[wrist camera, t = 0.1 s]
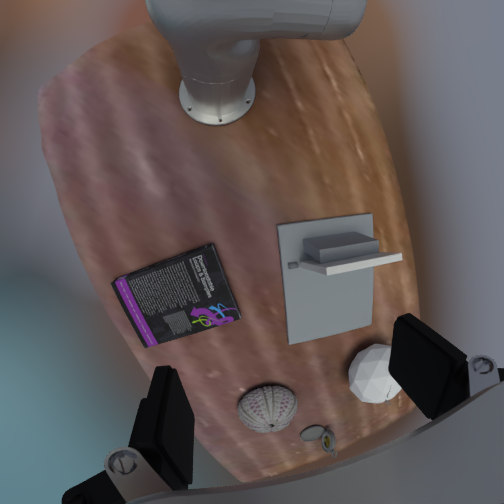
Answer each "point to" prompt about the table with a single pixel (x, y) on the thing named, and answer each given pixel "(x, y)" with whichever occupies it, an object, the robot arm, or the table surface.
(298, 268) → the board
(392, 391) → the geodesic sphere
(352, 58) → the table surface
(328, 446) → the pocket watch
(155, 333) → the box
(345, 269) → the tile
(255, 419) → the sea urchin shell
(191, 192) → the table surface
